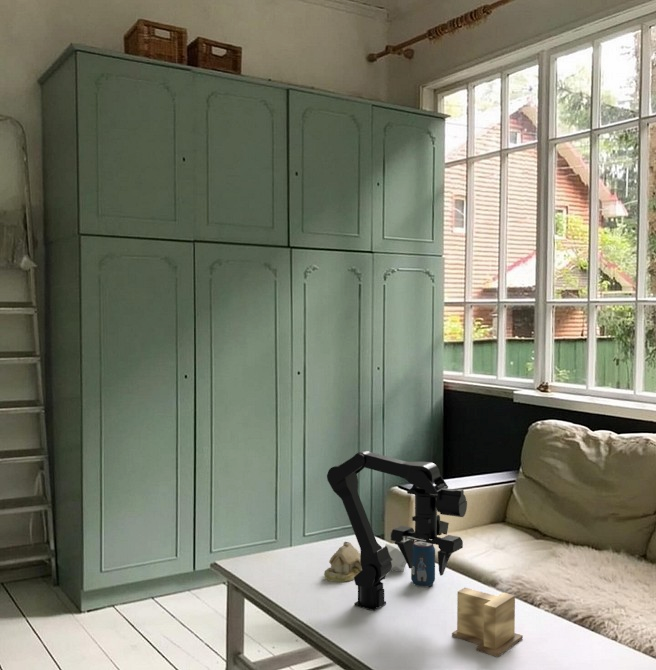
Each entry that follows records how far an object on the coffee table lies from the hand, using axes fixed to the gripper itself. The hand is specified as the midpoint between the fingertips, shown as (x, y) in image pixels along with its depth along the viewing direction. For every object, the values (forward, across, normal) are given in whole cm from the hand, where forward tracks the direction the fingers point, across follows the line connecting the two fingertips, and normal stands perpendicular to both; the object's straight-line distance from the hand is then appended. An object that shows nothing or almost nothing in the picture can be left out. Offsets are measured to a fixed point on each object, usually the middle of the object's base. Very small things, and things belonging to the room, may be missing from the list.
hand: (425, 571), depth 200 cm
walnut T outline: (+12, -19, +3) cm, 23 cm away
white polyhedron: (+12, +26, -26) cm, 39 cm away
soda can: (+12, +13, -21) cm, 28 cm away
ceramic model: (+12, +36, -13) cm, 40 cm away
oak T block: (+11, -19, +3) cm, 22 cm away
